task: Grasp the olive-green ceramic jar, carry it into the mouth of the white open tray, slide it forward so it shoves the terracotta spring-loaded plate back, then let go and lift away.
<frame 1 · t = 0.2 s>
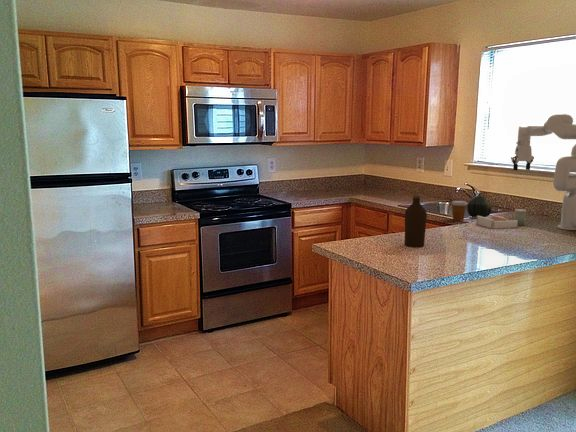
hand: (521, 169, 336), 31 cm above the worktop, tool pointing down, fingers open, 9 cm apart
white open tray: (496, 225, 307), on the worktop
squash: (478, 217, 338), on the worktop
disposable coffee cup: (458, 220, 325), on the worktop
olive oil: (414, 245, 253), on the worktop
pusher plate: (498, 221, 307), point 3 cm above the worktop, slide at 0.0 cm
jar: (519, 224, 311), on the worktop
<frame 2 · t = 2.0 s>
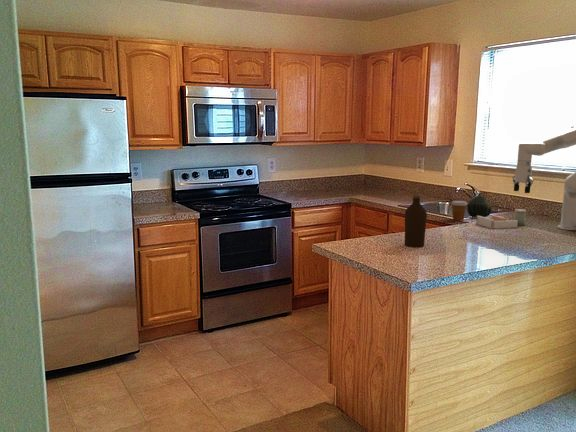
hand: (521, 192, 308), 20 cm above the worktop, tool pointing down, fingers open, 9 cm apart
nothing on the worktop moved.
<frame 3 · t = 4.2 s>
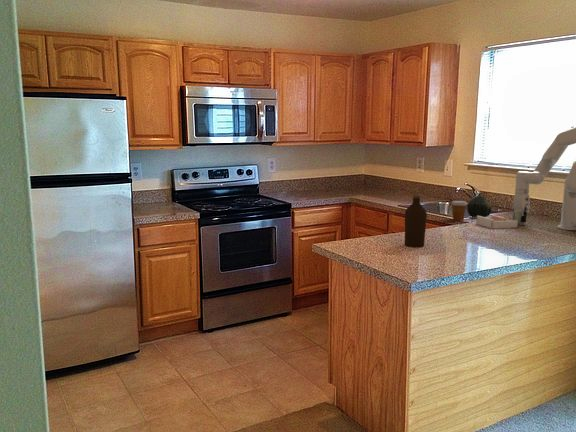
hand: (519, 221, 310), 2 cm above the worktop, tool pointing down, fingers closed on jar, 6 cm apart
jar: (519, 224, 311), on the worktop, touching gripper
everything else where it was.
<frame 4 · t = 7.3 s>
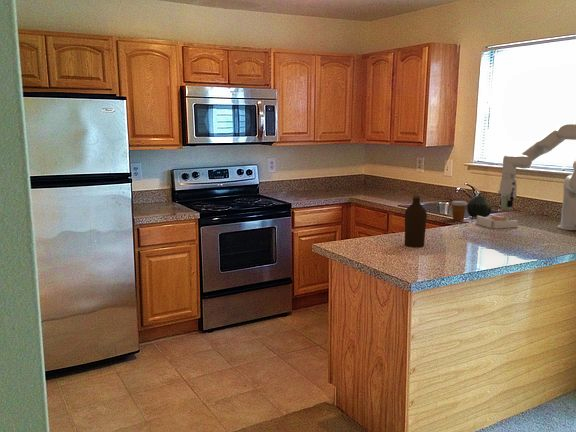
hand: (506, 205, 307), 12 cm above the worktop, tool pointing down, fingers closed on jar, 6 cm apart
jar: (505, 209, 307), point 10 cm above the worktop, touching gripper
everything else where it was.
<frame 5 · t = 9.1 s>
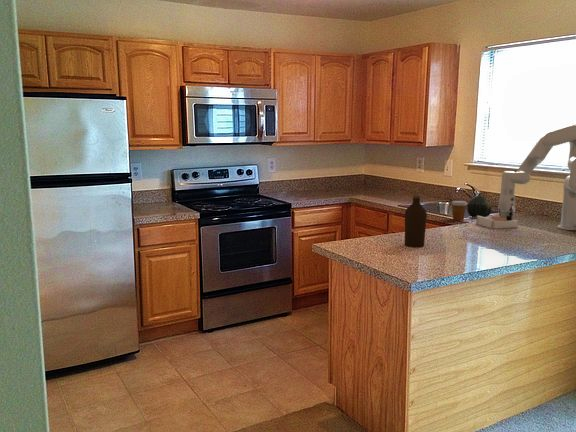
hand: (505, 221, 308), 2 cm above the worktop, tool pointing down, fingers closed on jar, 6 cm apart
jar: (505, 224, 308), on the worktop, touching gripper
everything else where it was.
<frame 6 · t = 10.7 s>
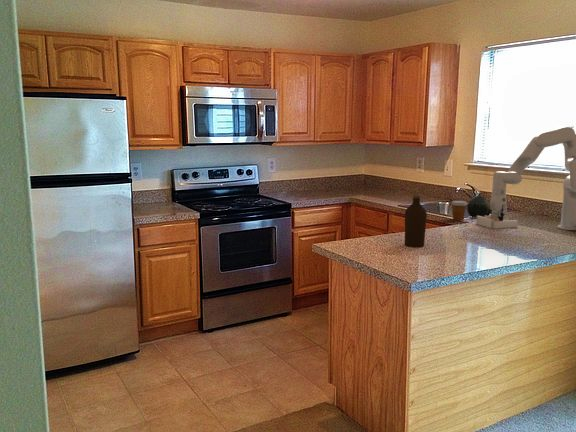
hand: (496, 221, 307), 2 cm above the worktop, tool pointing down, fingers closed on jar, 5 cm apart
pusher plate: (491, 221, 306), point 3 cm above the worktop, slide at 4.9 cm
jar: (496, 225, 307), on the worktop, touching gripper
everything else where it was.
when the fingers open (2 cm above the worktop, at t = 10.8 s): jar stays where it is, on the worktop.
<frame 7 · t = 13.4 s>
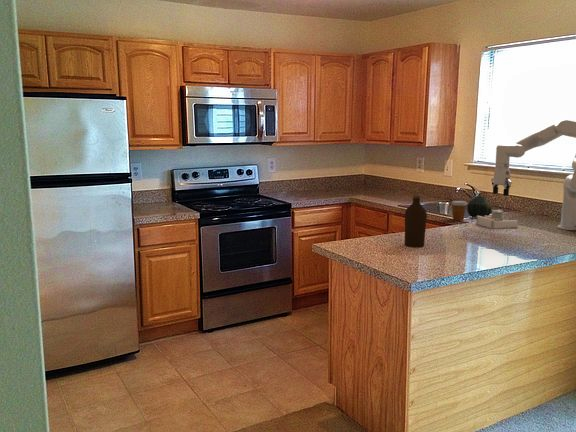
hand: (500, 194, 305), 19 cm above the worktop, tool pointing down, fingers open, 9 cm apart
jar: (496, 225, 307), on the worktop
everything else where it was.
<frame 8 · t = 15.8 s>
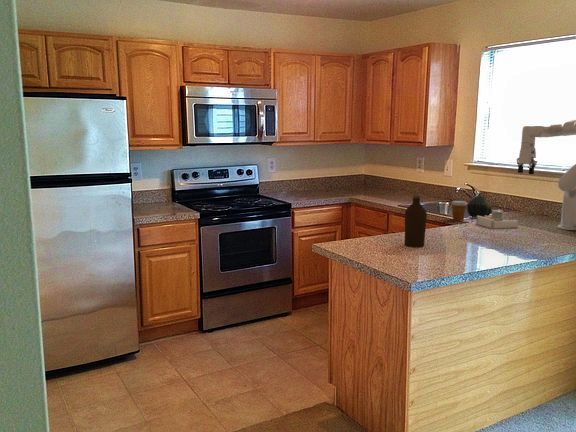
hand: (525, 173, 315), 30 cm above the worktop, tool pointing down, fingers open, 9 cm apart
nothing on the worktop moved.
at the end: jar inside the target area on the white open tray (0.4 cm from its centre), point 0.0 cm above the white open tray's base; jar tilted 0°; pusher plate slide at 5.0 cm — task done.
